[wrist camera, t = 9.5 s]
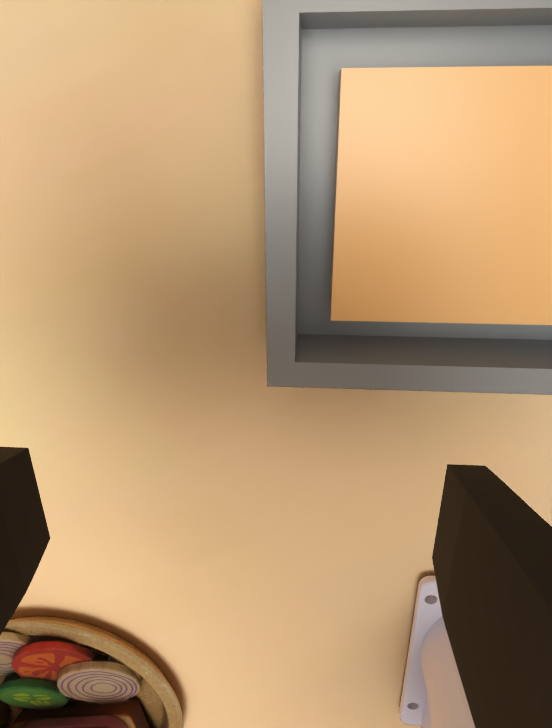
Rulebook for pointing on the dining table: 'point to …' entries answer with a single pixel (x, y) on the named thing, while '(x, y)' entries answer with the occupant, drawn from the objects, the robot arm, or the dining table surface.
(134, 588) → the dining table surface
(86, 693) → the toy sandwich meal
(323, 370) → the box
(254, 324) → the dining table surface
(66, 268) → the dining table surface
